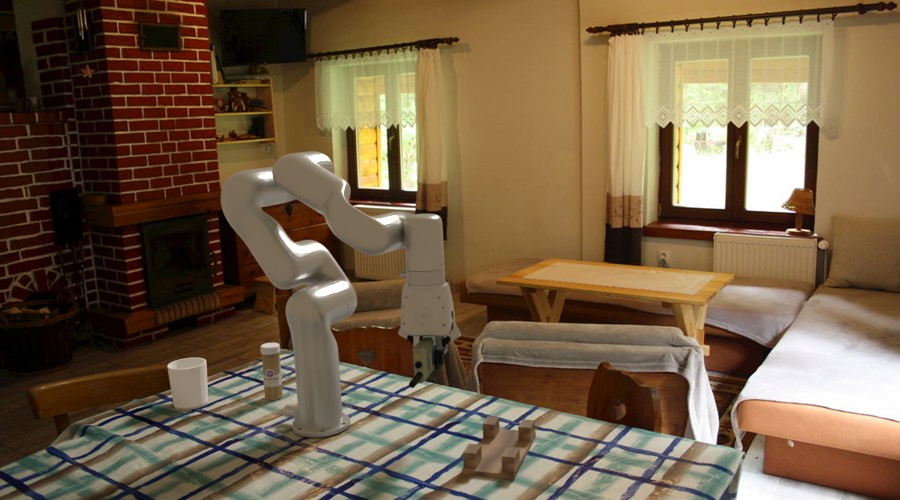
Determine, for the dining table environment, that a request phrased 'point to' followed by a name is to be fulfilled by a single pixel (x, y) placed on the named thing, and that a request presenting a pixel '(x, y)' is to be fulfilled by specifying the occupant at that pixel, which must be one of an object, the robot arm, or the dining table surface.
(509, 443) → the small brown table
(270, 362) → the sprinkles bottle
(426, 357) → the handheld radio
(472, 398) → the dining table surface
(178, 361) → the mug
